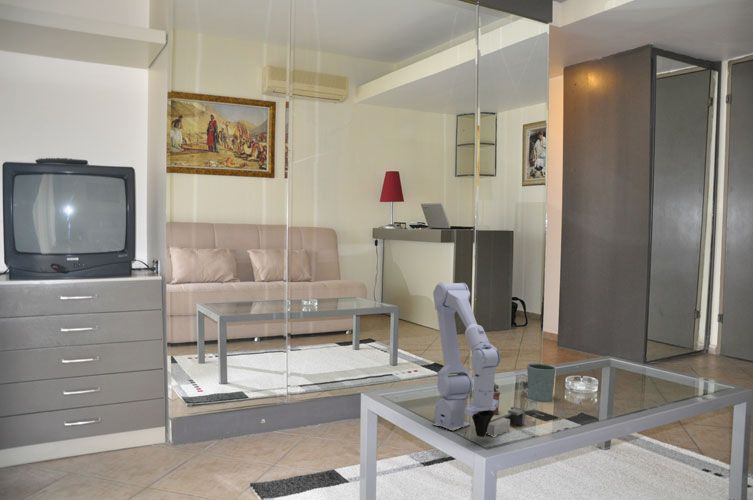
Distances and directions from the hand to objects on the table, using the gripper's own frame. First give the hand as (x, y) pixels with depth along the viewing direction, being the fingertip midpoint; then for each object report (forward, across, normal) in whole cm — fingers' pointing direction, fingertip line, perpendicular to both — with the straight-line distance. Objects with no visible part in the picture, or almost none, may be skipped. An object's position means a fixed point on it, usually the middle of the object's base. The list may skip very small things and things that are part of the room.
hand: (480, 435), depth 176 cm
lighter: (+2, +27, +13) cm, 30 cm away
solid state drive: (+2, +37, 0) cm, 37 cm away
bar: (+1, +10, 0) cm, 10 cm away
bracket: (+1, +14, +1) cm, 14 cm away
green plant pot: (+2, +56, +10) cm, 57 cm away
